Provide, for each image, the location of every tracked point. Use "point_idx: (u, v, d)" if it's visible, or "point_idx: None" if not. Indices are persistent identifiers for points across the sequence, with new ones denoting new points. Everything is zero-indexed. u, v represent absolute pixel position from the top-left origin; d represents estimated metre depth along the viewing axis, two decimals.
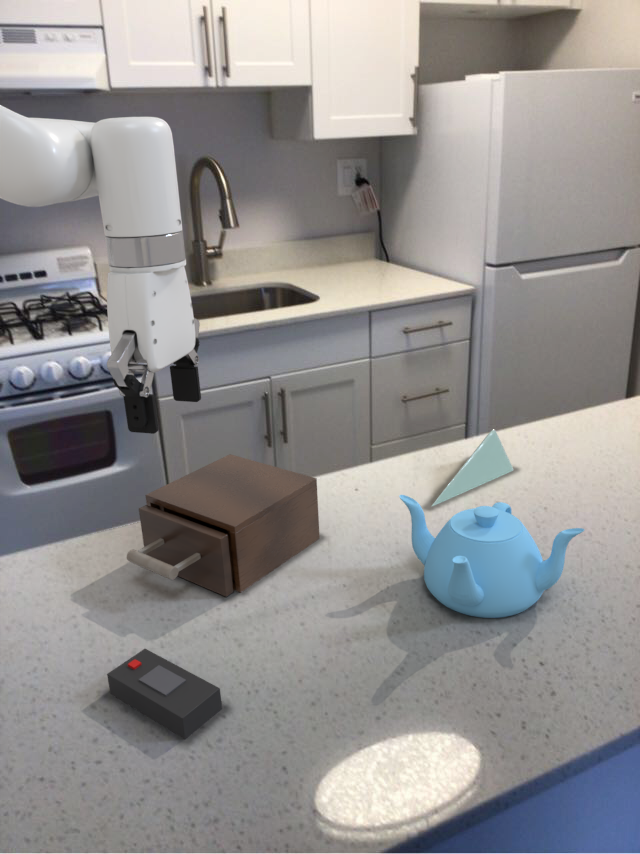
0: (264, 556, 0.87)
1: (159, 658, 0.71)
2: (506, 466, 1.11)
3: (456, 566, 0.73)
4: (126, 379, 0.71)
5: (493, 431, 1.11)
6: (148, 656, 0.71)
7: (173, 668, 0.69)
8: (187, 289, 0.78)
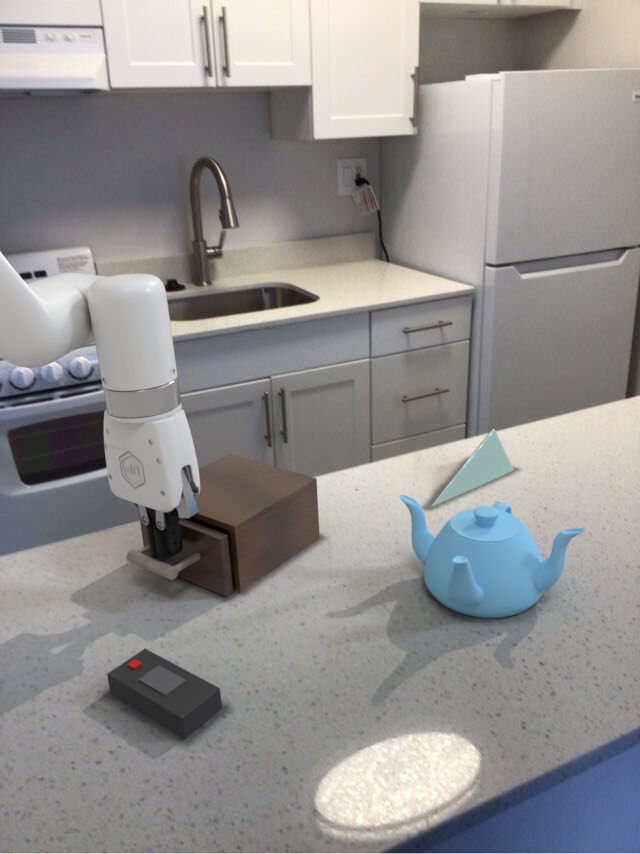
0: (264, 556, 0.87)
1: (159, 658, 0.71)
2: (506, 466, 1.11)
3: (456, 566, 0.73)
4: None
5: (493, 431, 1.11)
6: (148, 656, 0.71)
7: (173, 668, 0.69)
8: None
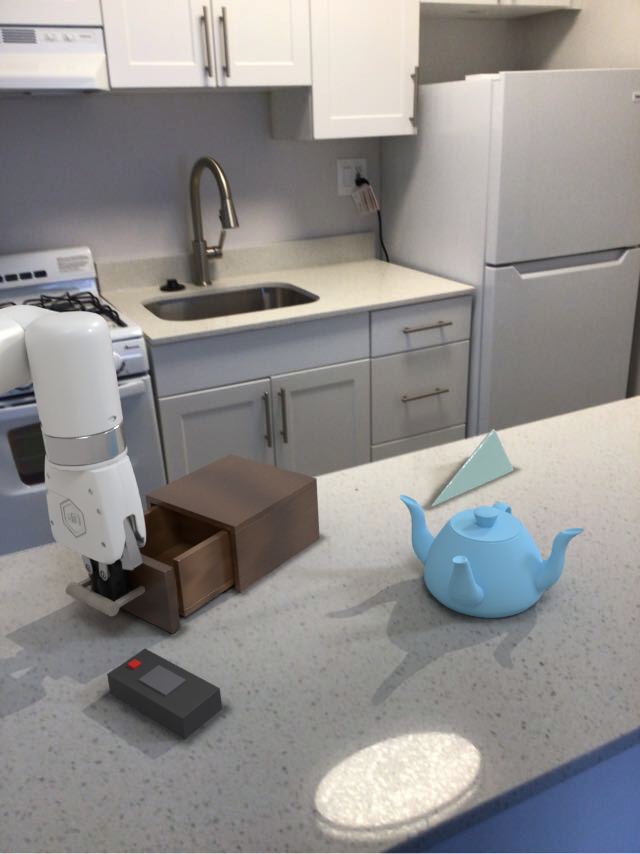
0: (264, 556, 0.87)
1: (159, 658, 0.71)
2: (506, 466, 1.11)
3: (456, 566, 0.73)
4: None
5: (493, 431, 1.11)
6: (148, 656, 0.71)
7: (173, 668, 0.69)
8: None
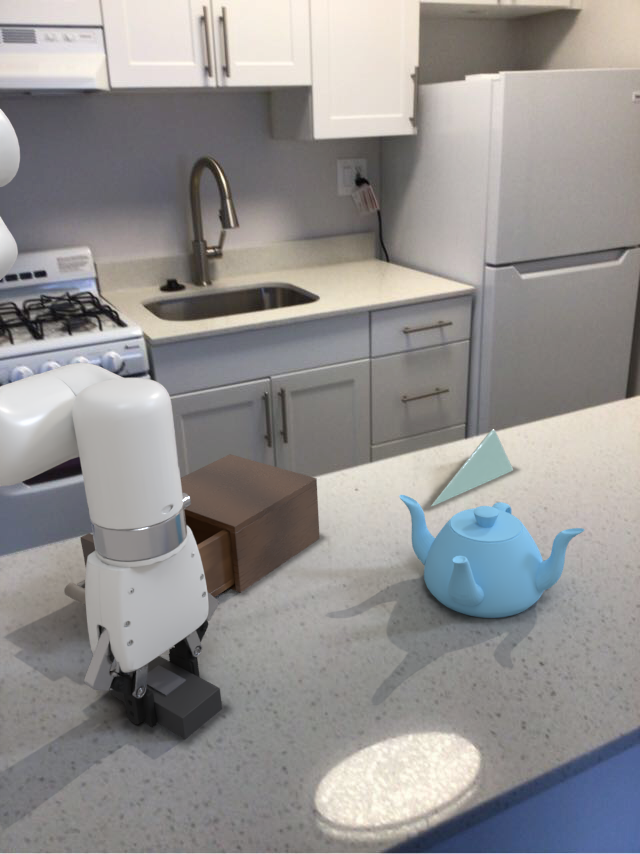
0: (264, 556, 0.87)
1: (159, 658, 0.71)
2: (506, 466, 1.11)
3: (456, 566, 0.73)
4: (113, 684, 0.62)
5: (493, 431, 1.11)
6: None
7: (173, 668, 0.69)
8: (195, 562, 0.65)
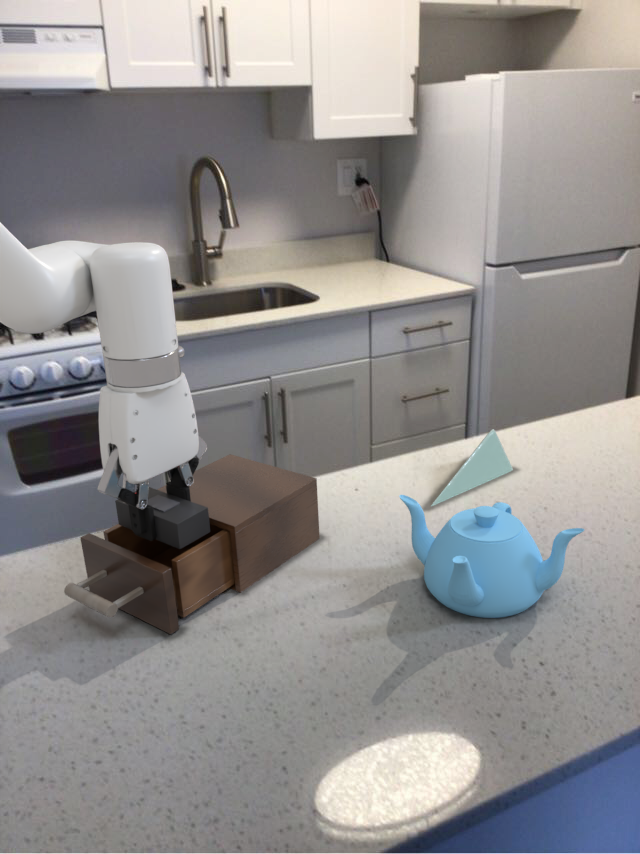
0: (264, 556, 0.87)
1: (158, 491, 0.85)
2: (505, 466, 1.11)
3: (456, 566, 0.73)
4: (120, 493, 0.77)
5: (492, 431, 1.11)
6: (149, 490, 0.86)
7: (170, 497, 0.84)
8: (188, 401, 0.80)
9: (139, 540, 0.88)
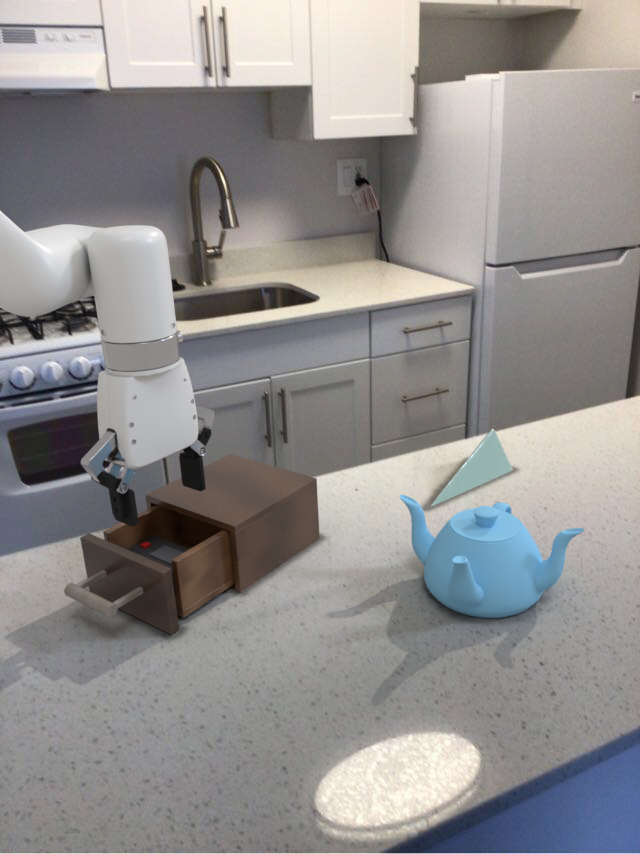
0: (264, 556, 0.87)
1: (165, 541, 0.88)
2: (505, 466, 1.11)
3: (456, 566, 0.73)
4: (99, 477, 0.74)
5: (492, 431, 1.11)
6: (156, 540, 0.88)
7: (176, 547, 0.86)
8: (187, 387, 0.79)
9: (139, 540, 0.88)
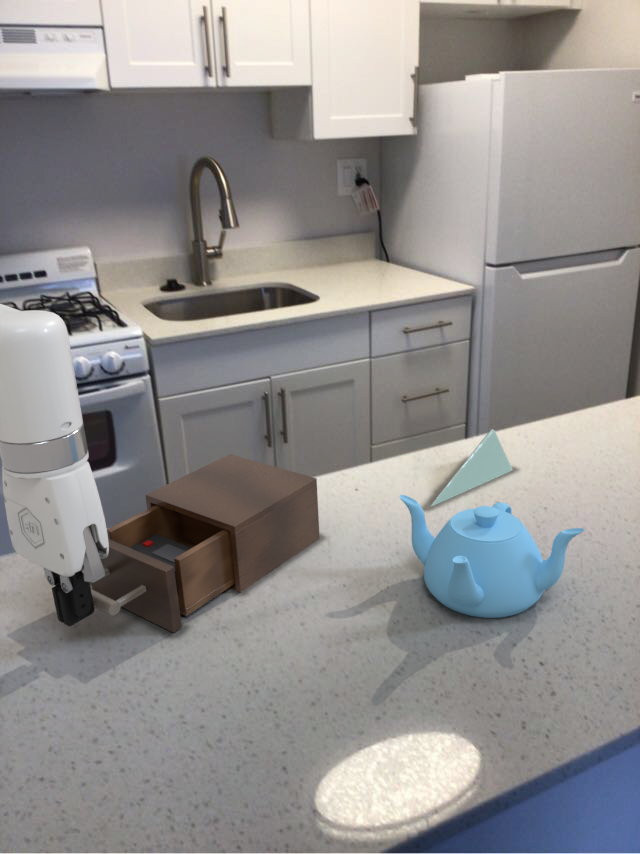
0: (264, 556, 0.87)
1: (168, 539, 0.88)
2: (505, 466, 1.11)
3: (456, 566, 0.73)
4: None
5: (492, 431, 1.11)
6: (159, 538, 0.88)
7: (179, 546, 0.86)
8: None
9: (141, 539, 0.88)
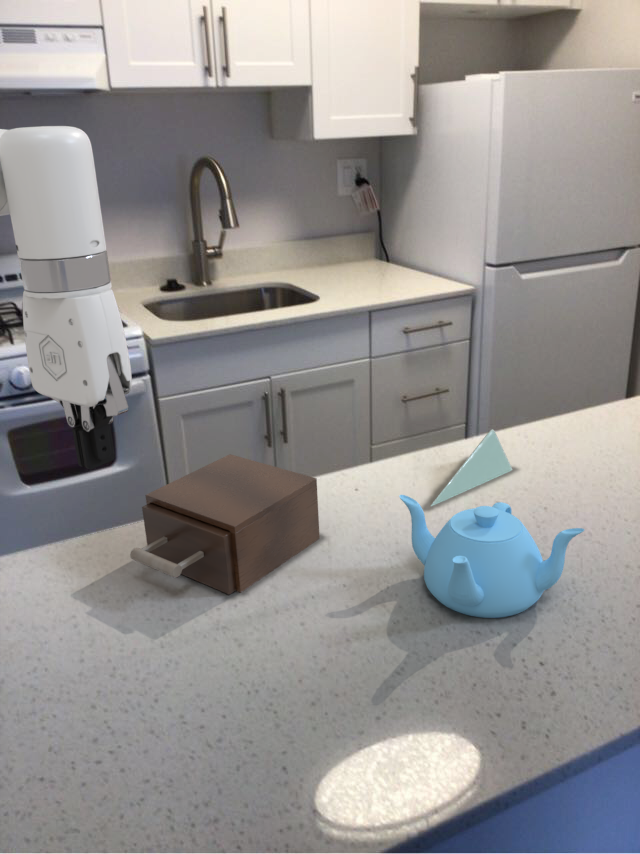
0: (264, 556, 0.87)
1: None
2: (505, 466, 1.11)
3: (456, 566, 0.73)
4: None
5: (492, 431, 1.11)
6: None
7: None
8: None
9: None
